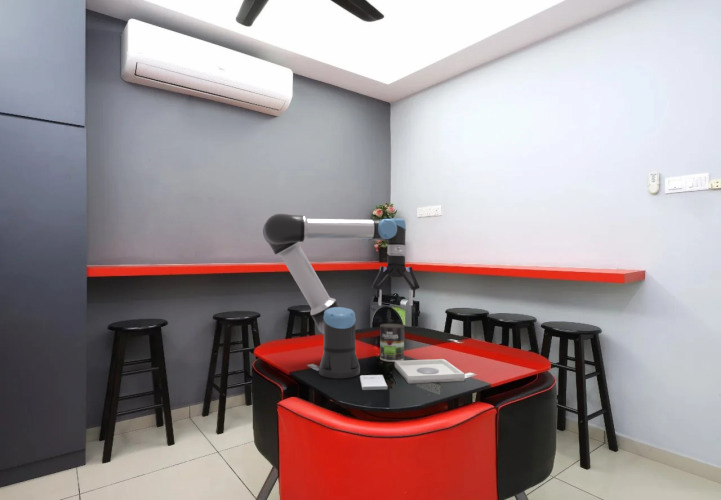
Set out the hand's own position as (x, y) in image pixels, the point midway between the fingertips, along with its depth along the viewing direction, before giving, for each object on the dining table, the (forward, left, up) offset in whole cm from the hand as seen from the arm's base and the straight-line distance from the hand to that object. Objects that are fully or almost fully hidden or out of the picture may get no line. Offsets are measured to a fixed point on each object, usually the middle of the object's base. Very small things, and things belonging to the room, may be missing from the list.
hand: (395, 305), depth 167 cm
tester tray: (+7, -23, -23) cm, 33 cm away
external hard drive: (-15, -31, -23) cm, 41 cm away
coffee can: (-1, 0, -23) cm, 23 cm away
